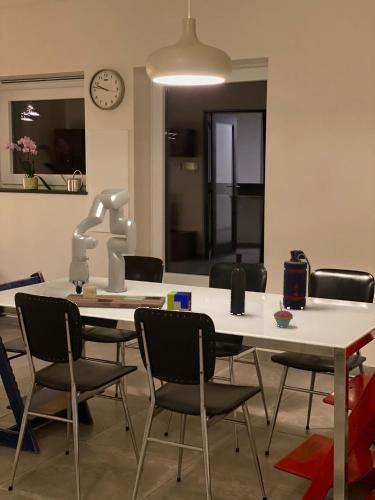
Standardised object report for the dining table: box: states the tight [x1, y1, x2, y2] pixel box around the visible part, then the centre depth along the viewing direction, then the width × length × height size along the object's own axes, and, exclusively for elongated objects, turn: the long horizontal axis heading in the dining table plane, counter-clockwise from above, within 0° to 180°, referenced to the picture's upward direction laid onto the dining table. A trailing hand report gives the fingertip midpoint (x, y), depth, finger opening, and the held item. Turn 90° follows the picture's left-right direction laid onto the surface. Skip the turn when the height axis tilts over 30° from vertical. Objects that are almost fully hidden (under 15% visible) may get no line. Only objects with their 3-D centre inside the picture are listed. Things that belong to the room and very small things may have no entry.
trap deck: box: [64, 293, 167, 310], centre depth 352 cm, size 24×52×2 cm, turn 86°
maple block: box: [82, 285, 98, 298], centre depth 358 cm, size 6×6×5 cm
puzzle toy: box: [166, 290, 192, 312], centre depth 329 cm, size 10×10×10 cm
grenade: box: [282, 249, 312, 309], centre depth 347 cm, size 14×12×30 cm
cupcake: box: [273, 300, 294, 327], centre depth 303 cm, size 9×8×12 cm
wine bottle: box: [229, 252, 247, 314], centre depth 328 cm, size 6×6×30 cm
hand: (78, 293), depth 359 cm, fingers closed
